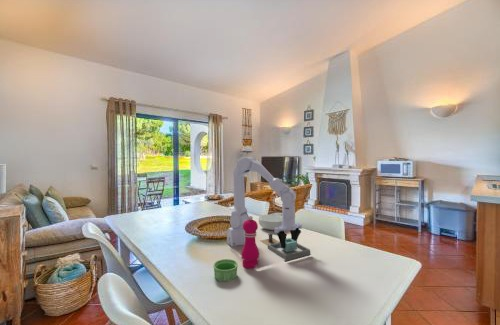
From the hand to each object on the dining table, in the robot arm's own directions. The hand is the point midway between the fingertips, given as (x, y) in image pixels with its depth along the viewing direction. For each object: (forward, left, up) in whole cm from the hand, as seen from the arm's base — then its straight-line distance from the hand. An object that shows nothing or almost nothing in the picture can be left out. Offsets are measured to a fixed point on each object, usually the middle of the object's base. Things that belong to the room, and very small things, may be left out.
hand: (288, 246), depth 105 cm
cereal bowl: (+13, +32, -3) cm, 35 cm away
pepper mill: (-21, -2, -3) cm, 21 cm away
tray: (0, 0, -3) cm, 3 cm away
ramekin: (-33, -5, -3) cm, 34 cm away
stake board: (-1, +13, -3) cm, 13 cm away
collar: (0, 0, -1) cm, 1 cm away
